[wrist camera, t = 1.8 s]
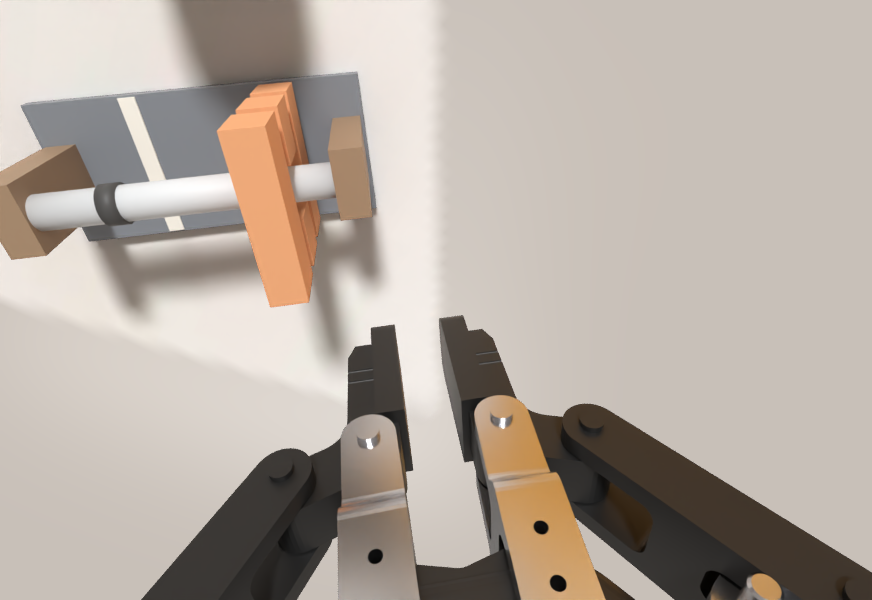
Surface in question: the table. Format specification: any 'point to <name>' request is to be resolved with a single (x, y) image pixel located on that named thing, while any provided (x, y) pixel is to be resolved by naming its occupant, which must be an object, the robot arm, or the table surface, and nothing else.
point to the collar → (273, 190)
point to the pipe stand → (171, 163)
